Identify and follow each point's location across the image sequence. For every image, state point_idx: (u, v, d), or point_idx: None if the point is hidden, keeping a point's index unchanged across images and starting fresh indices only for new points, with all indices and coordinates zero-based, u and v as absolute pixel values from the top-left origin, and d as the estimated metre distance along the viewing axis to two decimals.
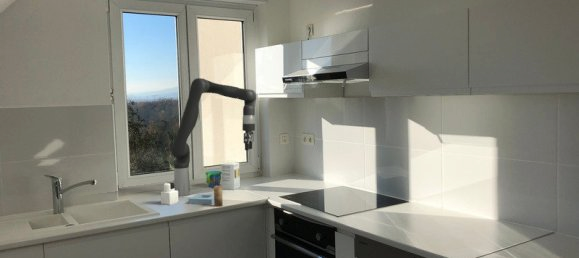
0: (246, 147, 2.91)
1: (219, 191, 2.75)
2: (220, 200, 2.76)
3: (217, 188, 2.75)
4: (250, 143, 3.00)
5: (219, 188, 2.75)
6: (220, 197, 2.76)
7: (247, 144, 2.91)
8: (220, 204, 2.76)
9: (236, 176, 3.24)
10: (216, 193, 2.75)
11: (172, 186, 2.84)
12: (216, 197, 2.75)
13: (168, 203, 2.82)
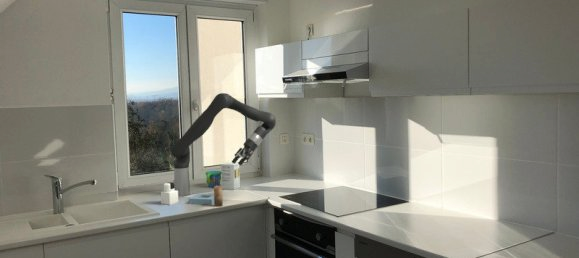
0: (242, 162, 2.78)
1: (219, 191, 2.75)
2: (220, 200, 2.76)
3: (217, 188, 2.75)
4: (236, 158, 2.87)
5: (219, 188, 2.75)
6: (220, 197, 2.76)
7: (244, 160, 2.79)
8: (220, 204, 2.76)
9: (236, 176, 3.24)
10: (216, 193, 2.75)
11: (172, 186, 2.84)
12: (216, 197, 2.75)
13: (168, 203, 2.82)
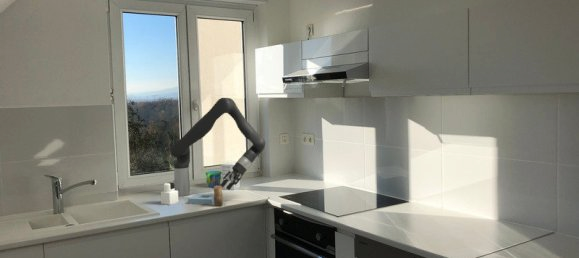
0: (230, 186, 2.75)
1: (219, 191, 2.75)
2: (220, 200, 2.76)
3: (217, 188, 2.75)
4: (225, 182, 2.84)
5: (219, 188, 2.75)
6: (220, 197, 2.76)
7: None
8: (220, 204, 2.76)
9: None
10: (216, 193, 2.75)
11: (172, 186, 2.84)
12: (216, 197, 2.75)
13: (168, 203, 2.82)
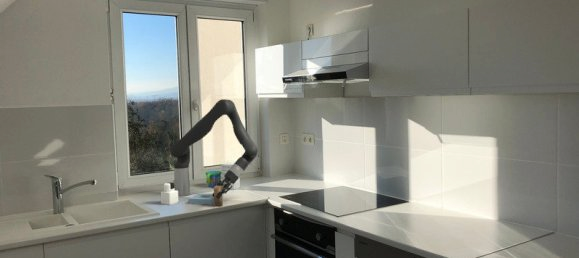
0: (219, 195, 2.74)
1: (219, 191, 2.75)
2: (220, 200, 2.76)
3: (217, 188, 2.75)
4: None
5: (219, 188, 2.75)
6: (220, 197, 2.76)
7: None
8: (220, 204, 2.76)
9: None
10: (216, 193, 2.75)
11: (172, 186, 2.84)
12: None
13: (168, 203, 2.82)
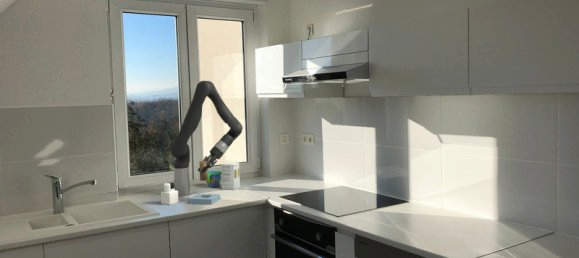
0: (204, 170, 2.84)
1: (204, 166, 2.85)
2: (205, 174, 2.86)
3: (202, 163, 2.85)
4: None
5: (204, 163, 2.85)
6: (205, 172, 2.86)
7: (207, 168, 2.85)
8: (205, 178, 2.86)
9: (236, 176, 3.24)
10: (201, 168, 2.85)
11: (172, 186, 2.84)
12: None
13: (168, 203, 2.82)
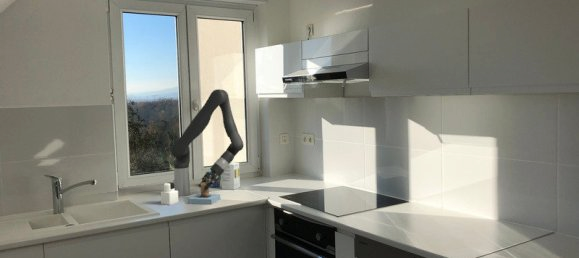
0: (207, 187, 2.84)
1: None
2: (206, 196, 2.87)
3: (204, 184, 2.86)
4: None
5: (205, 184, 2.87)
6: (206, 193, 2.87)
7: (210, 185, 2.85)
8: None
9: (236, 176, 3.24)
10: (203, 189, 2.87)
11: (172, 186, 2.84)
12: (203, 193, 2.87)
13: (168, 203, 2.82)
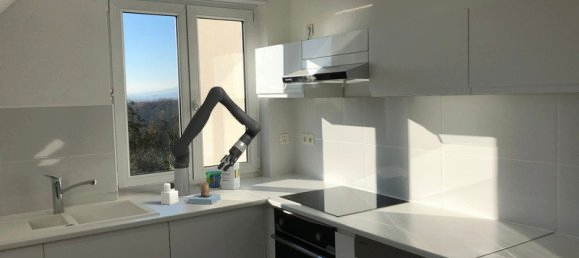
0: (226, 168, 2.90)
1: (206, 187, 2.87)
2: (206, 196, 2.87)
3: (204, 184, 2.86)
4: (222, 164, 2.98)
5: (205, 184, 2.87)
6: (206, 193, 2.87)
7: None
8: None
9: (236, 176, 3.24)
10: (203, 189, 2.87)
11: (172, 186, 2.84)
12: (203, 193, 2.87)
13: (168, 203, 2.82)
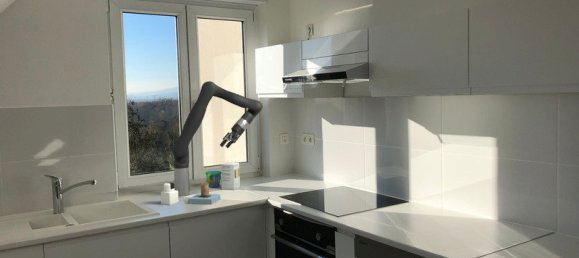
0: (229, 145, 2.96)
1: (205, 187, 2.87)
2: (206, 196, 2.87)
3: (204, 184, 2.86)
4: (224, 142, 3.04)
5: (205, 184, 2.87)
6: (206, 193, 2.87)
7: (231, 143, 2.97)
8: None
9: (236, 176, 3.24)
10: (203, 189, 2.87)
11: (172, 186, 2.84)
12: (203, 193, 2.87)
13: (168, 203, 2.82)
